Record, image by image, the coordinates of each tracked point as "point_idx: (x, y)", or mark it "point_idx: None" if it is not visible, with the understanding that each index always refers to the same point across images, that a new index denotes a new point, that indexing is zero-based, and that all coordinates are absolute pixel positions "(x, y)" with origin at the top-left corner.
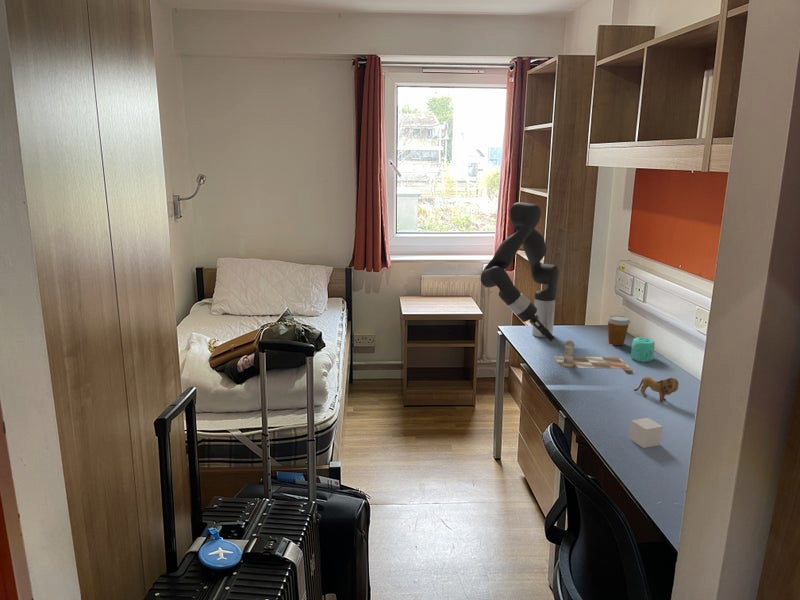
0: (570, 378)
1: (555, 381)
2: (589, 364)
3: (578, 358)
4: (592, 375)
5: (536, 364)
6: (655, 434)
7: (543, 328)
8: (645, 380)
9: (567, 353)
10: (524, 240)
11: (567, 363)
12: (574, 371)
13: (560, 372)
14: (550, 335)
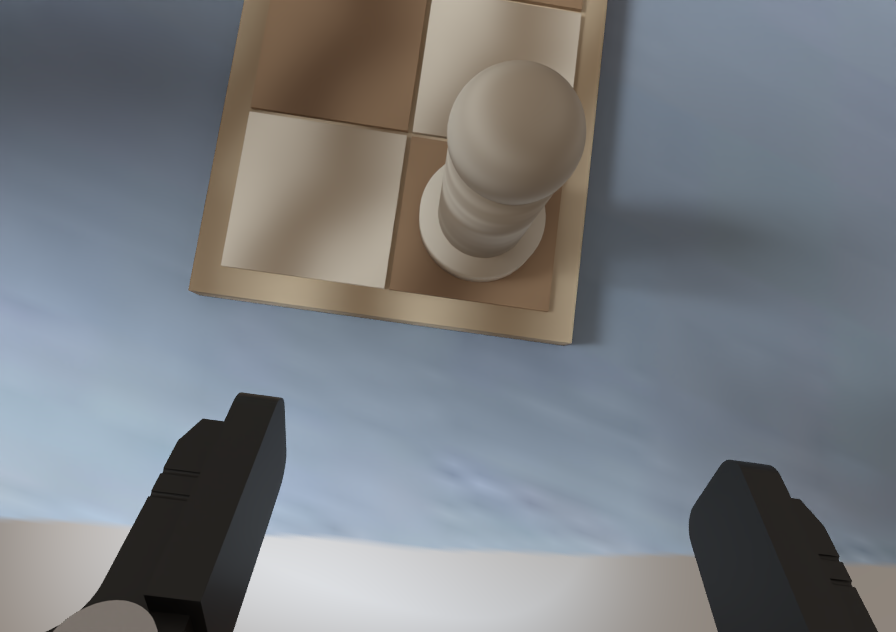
0: (715, 307)
1: (778, 469)
2: (487, 19)
3: (315, 47)
4: (657, 92)
5: (341, 496)
6: None
7: (239, 555)
8: None
9: (539, 212)
10: None
11: (525, 238)
12: None
13: None
14: (849, 592)
